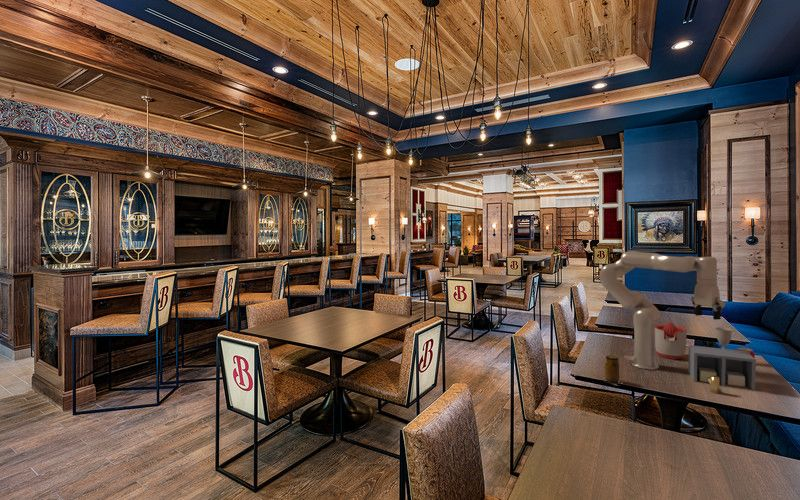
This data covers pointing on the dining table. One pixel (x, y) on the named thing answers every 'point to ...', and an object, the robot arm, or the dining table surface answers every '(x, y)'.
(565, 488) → the dining table surface
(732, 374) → the grey block
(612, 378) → the condiment
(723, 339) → the chalice
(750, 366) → the cubby shelf
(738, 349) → the soda can
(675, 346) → the citrus juicer
